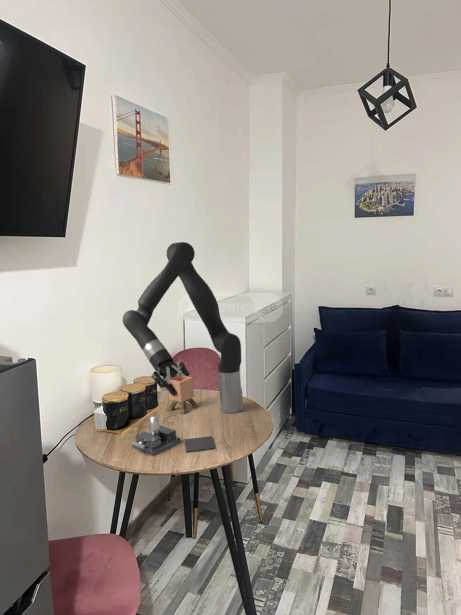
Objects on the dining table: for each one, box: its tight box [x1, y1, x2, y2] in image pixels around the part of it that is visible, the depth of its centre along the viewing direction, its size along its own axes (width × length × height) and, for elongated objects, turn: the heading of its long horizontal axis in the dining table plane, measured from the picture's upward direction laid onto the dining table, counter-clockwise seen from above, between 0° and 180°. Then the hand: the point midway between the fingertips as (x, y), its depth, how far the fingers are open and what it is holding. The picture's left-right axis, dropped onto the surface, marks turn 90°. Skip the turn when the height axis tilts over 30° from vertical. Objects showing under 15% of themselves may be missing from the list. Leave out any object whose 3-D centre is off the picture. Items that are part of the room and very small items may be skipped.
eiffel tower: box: [166, 355, 201, 416], centre depth 197 cm, size 11×11×25 cm
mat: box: [184, 435, 216, 454], centre depth 161 cm, size 10×10×1 cm
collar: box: [168, 376, 195, 403], centre depth 159 cm, size 6×6×7 cm
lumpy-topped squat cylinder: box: [93, 404, 107, 430], centre depth 184 cm, size 10×13×9 cm
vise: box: [131, 414, 181, 457], centre depth 162 cm, size 15×11×10 cm
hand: (182, 391), depth 159 cm, fingers closed on collar, 6 cm apart
